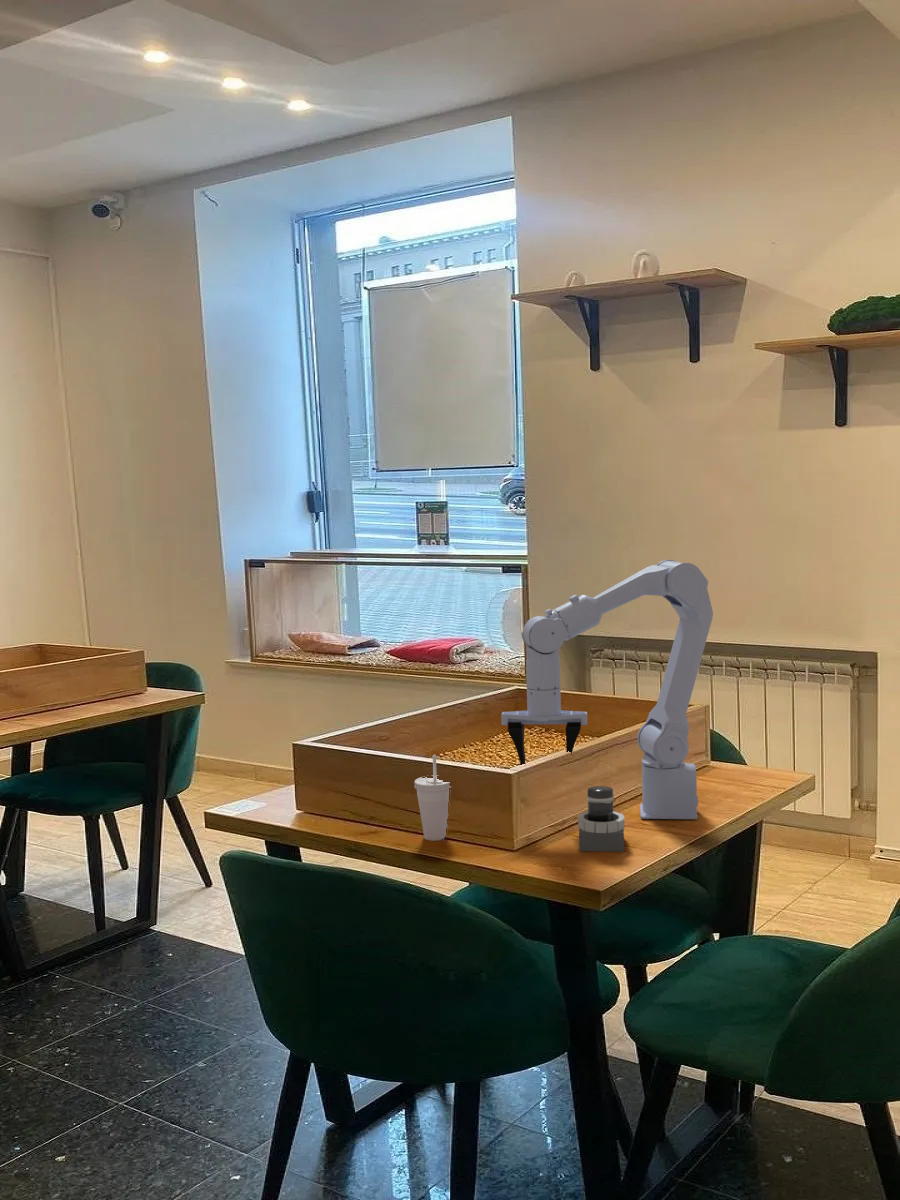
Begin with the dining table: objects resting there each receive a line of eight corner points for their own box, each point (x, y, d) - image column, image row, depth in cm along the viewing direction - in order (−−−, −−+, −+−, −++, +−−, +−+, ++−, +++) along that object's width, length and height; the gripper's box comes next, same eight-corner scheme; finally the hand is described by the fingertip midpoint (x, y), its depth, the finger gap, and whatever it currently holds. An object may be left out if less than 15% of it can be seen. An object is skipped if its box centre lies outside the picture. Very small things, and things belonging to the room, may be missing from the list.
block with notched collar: (624, 837, 184) (624, 810, 184) (625, 851, 177) (624, 824, 177) (579, 836, 185) (579, 810, 185) (578, 851, 178) (577, 823, 178)
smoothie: (429, 845, 183) (426, 761, 182) (408, 836, 189) (405, 754, 187) (462, 838, 187) (459, 755, 186) (440, 828, 192) (438, 748, 191)
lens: (613, 822, 183) (612, 785, 182) (614, 829, 179) (614, 792, 178) (587, 822, 183) (586, 786, 183) (588, 830, 179) (587, 793, 179)
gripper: (498, 691, 189) (500, 771, 190) (586, 691, 187) (587, 771, 188) (502, 684, 196) (504, 761, 197) (587, 683, 194) (588, 761, 195)
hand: (545, 765), depth 193 cm, fingers open, 7 cm apart
